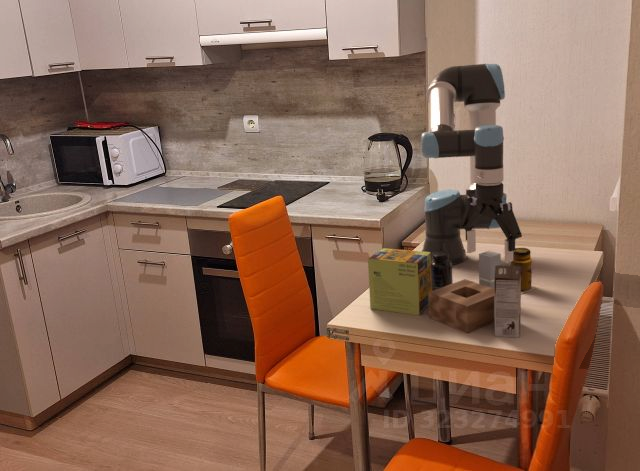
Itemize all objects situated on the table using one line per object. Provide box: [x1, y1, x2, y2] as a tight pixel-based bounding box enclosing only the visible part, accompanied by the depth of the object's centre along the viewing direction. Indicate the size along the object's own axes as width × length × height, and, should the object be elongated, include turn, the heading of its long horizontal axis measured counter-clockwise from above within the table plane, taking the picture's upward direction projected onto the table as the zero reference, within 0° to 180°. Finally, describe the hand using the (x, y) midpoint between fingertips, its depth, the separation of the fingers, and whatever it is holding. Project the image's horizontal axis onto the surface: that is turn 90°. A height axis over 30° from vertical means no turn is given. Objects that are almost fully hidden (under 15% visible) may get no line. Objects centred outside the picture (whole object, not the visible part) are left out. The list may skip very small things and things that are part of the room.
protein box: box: [367, 247, 432, 316], centre depth 191 cm, size 10×15×16 cm
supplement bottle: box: [431, 251, 454, 291], centre depth 200 cm, size 7×7×12 cm
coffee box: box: [494, 264, 522, 338], centre depth 171 cm, size 9×6×16 cm
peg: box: [478, 250, 502, 289], centre depth 191 cm, size 4×4×14 cm
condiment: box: [509, 247, 539, 295], centre depth 198 cm, size 7×8×12 cm
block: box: [428, 278, 495, 334], centre depth 181 cm, size 14×14×8 cm
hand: (489, 256), depth 189 cm, fingers open, 13 cm apart
